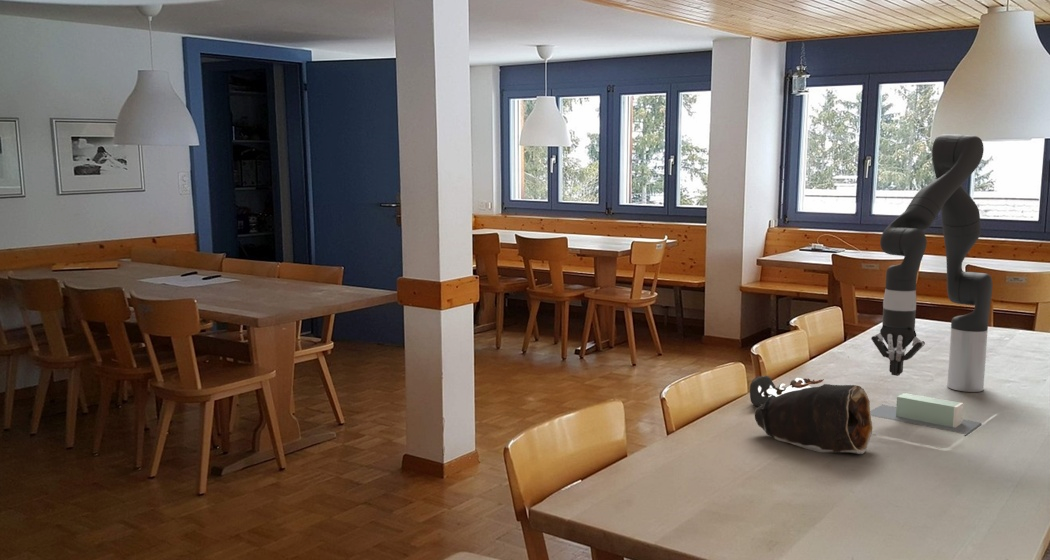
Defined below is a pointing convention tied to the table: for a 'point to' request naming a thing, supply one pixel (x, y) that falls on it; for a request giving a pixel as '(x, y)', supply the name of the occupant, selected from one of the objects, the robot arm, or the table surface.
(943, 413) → the sage block
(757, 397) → the figurine
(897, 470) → the table surface
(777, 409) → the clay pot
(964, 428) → the slate mat
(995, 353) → the table surface
